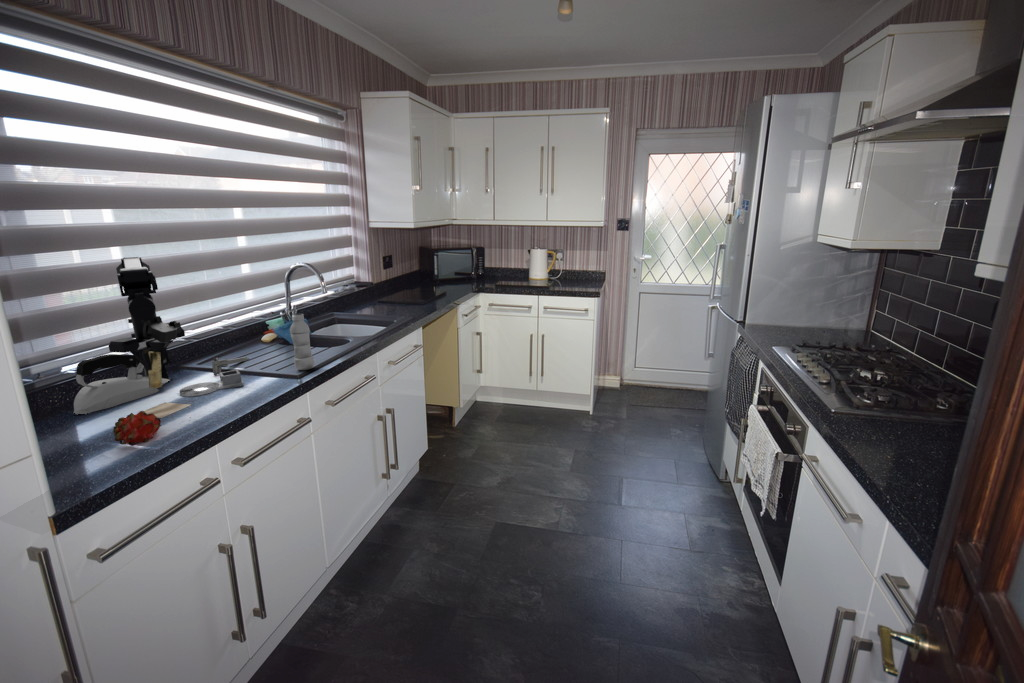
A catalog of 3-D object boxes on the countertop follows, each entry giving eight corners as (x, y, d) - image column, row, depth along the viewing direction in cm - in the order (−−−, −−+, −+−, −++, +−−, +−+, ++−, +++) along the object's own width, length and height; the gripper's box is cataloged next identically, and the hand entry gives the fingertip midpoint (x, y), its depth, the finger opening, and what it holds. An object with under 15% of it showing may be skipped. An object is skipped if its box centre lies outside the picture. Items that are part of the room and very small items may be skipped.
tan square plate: (133, 417, 146) (133, 415, 146) (165, 404, 155) (164, 402, 155) (161, 419, 143) (161, 417, 143) (191, 406, 153) (191, 404, 152)
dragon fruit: (114, 459, 124) (160, 444, 136) (134, 441, 122) (179, 427, 134) (96, 429, 125) (143, 417, 137) (116, 411, 123) (162, 400, 134)
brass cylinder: (146, 387, 146) (144, 352, 144) (155, 385, 148) (154, 350, 147) (155, 388, 145) (153, 353, 144) (164, 386, 148) (163, 351, 146)
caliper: (216, 376, 182) (213, 359, 180) (214, 376, 182) (210, 359, 180) (249, 359, 201) (246, 343, 200) (246, 359, 201) (244, 343, 200)
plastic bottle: (309, 372, 182) (301, 316, 176) (291, 372, 183) (283, 316, 178) (318, 367, 188) (311, 312, 183) (301, 366, 189) (294, 312, 184)
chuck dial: (181, 400, 157) (178, 387, 156) (178, 390, 166) (176, 378, 165) (244, 387, 167) (242, 375, 166) (239, 379, 176) (237, 367, 175)
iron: (172, 390, 167) (163, 346, 164) (86, 418, 146) (73, 368, 143) (152, 386, 172) (142, 343, 168) (66, 413, 151) (52, 364, 147)
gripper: (134, 322, 131) (147, 380, 135) (195, 308, 149) (205, 360, 153) (100, 321, 134) (114, 378, 138) (164, 307, 152) (174, 358, 156)
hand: (155, 368), depth 146 cm, fingers closed on brass cylinder, 3 cm apart
